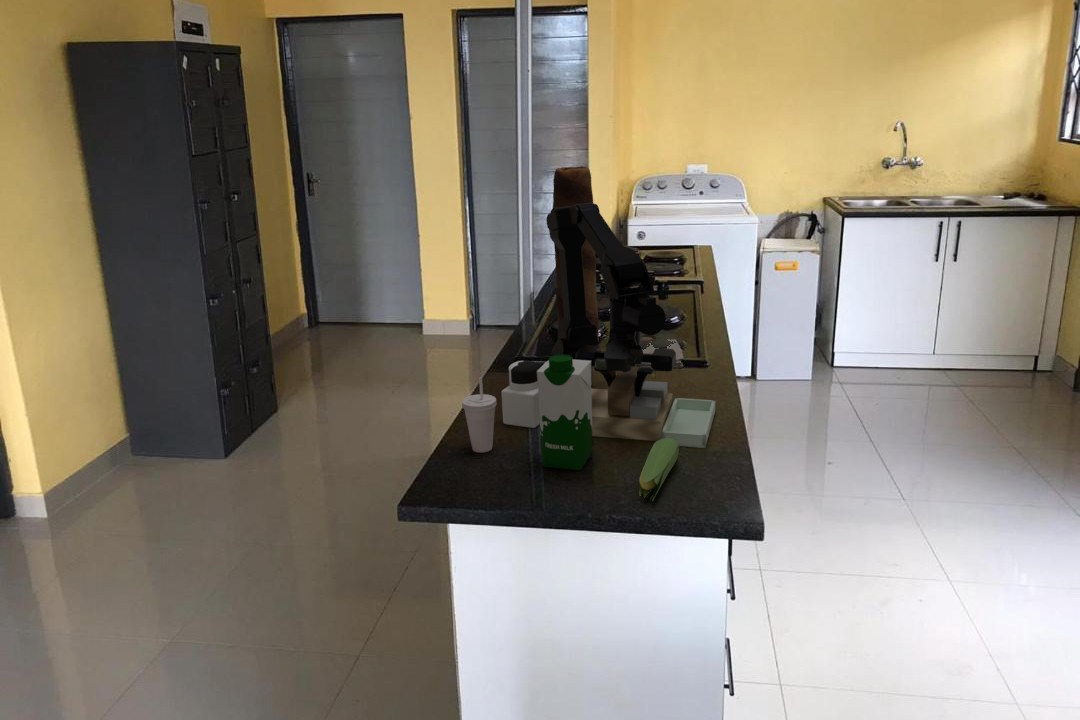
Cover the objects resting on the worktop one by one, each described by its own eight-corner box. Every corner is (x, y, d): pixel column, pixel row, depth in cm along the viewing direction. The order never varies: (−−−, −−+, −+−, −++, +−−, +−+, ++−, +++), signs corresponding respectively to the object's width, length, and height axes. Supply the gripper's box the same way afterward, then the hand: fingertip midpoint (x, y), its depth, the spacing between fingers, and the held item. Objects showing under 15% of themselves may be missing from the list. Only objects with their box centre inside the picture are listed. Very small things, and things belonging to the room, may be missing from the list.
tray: (661, 444, 160) (661, 432, 159) (675, 409, 176) (675, 397, 175) (705, 448, 158) (705, 435, 157) (715, 412, 174) (715, 400, 173)
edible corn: (686, 436, 153) (661, 427, 154) (659, 489, 135) (632, 478, 136) (677, 461, 155) (653, 451, 156) (650, 515, 137) (623, 504, 138)
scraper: (608, 414, 163) (607, 389, 161) (622, 389, 176) (622, 366, 174) (629, 416, 162) (628, 390, 160) (642, 390, 175) (642, 367, 173)
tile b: (629, 418, 162) (629, 405, 161) (634, 408, 167) (634, 396, 166) (656, 420, 161) (656, 407, 160) (660, 410, 165) (660, 398, 164)
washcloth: (635, 372, 200) (635, 359, 199) (627, 349, 217) (627, 337, 216) (686, 370, 200) (686, 358, 199) (674, 347, 217) (675, 335, 216)
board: (572, 434, 166) (572, 415, 165) (590, 406, 180) (590, 388, 178) (661, 441, 161) (661, 421, 160) (672, 412, 175) (672, 393, 174)
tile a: (638, 401, 170) (638, 389, 170) (642, 392, 175) (642, 380, 174) (663, 402, 169) (663, 390, 168) (667, 394, 173) (667, 382, 173)
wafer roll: (554, 356, 213) (547, 169, 199) (560, 343, 223) (554, 165, 209) (596, 356, 211) (592, 168, 197) (600, 343, 221) (597, 164, 207)
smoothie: (494, 456, 158) (490, 384, 154) (460, 454, 159) (455, 383, 155) (503, 442, 164) (498, 372, 160) (470, 440, 165) (465, 371, 161)
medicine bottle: (550, 415, 176) (547, 359, 172) (535, 428, 170) (532, 370, 166) (518, 411, 179) (515, 356, 175) (502, 424, 172) (499, 367, 169)
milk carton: (536, 468, 152) (531, 360, 146) (552, 448, 160) (548, 344, 154) (584, 473, 150) (581, 363, 143) (598, 452, 158) (595, 347, 151)
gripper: (566, 332, 159) (568, 411, 164) (667, 336, 154) (667, 418, 159) (581, 316, 169) (583, 391, 174) (676, 320, 164) (676, 397, 169)
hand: (625, 399), depth 169 cm, fingers closed on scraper, 4 cm apart
